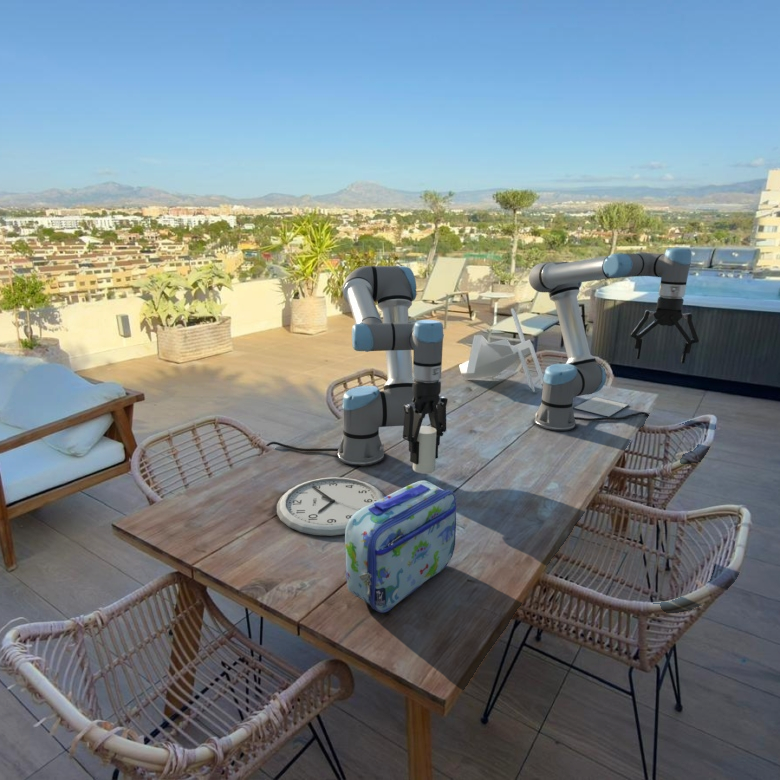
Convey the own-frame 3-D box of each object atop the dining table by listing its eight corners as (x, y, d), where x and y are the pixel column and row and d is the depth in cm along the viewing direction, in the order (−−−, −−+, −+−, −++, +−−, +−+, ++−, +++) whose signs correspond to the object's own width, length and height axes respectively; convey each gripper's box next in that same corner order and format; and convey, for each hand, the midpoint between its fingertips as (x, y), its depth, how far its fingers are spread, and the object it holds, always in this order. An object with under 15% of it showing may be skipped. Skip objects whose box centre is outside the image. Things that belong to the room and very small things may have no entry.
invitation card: (608, 416, 214) (573, 407, 224) (608, 416, 214) (573, 408, 224) (628, 404, 229) (594, 396, 238) (628, 405, 229) (594, 397, 238)
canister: (408, 467, 146) (409, 428, 143) (425, 462, 150) (427, 424, 146) (421, 475, 141) (423, 435, 138) (439, 470, 145) (441, 431, 142)
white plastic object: (480, 421, 262) (459, 398, 238) (462, 347, 285) (440, 320, 260) (552, 397, 250) (537, 370, 226) (527, 322, 272) (511, 290, 248)
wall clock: (392, 527, 129) (268, 531, 127) (391, 533, 130) (269, 537, 127) (383, 473, 158) (282, 475, 155) (383, 478, 158) (282, 480, 156)
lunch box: (374, 626, 100) (375, 530, 93) (338, 598, 107) (337, 508, 101) (459, 568, 117) (465, 484, 111) (424, 547, 124) (427, 467, 118)
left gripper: (407, 388, 130) (404, 473, 137) (463, 377, 141) (458, 456, 147) (389, 381, 136) (388, 463, 142) (444, 371, 147) (440, 447, 153)
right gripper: (629, 296, 172) (620, 358, 178) (716, 301, 163) (703, 367, 169) (629, 293, 178) (619, 354, 185) (712, 298, 169) (700, 361, 176)
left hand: (424, 459), depth 145 cm, fingers closed on canister, 6 cm apart
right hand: (659, 360), depth 177 cm, fingers open, 13 cm apart
